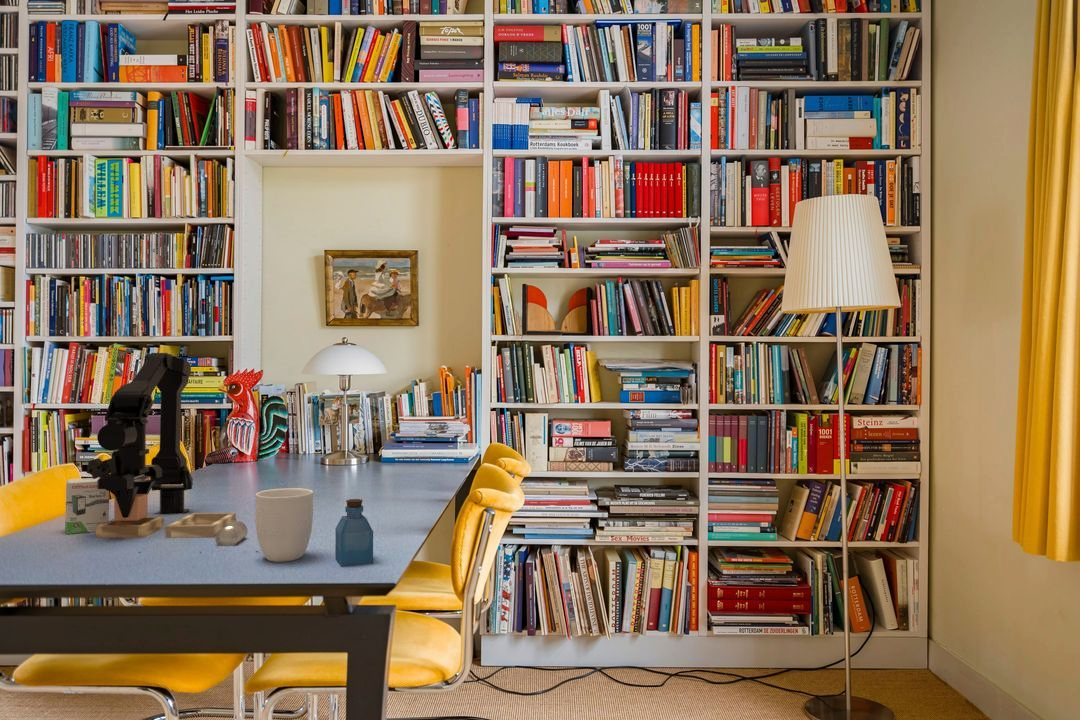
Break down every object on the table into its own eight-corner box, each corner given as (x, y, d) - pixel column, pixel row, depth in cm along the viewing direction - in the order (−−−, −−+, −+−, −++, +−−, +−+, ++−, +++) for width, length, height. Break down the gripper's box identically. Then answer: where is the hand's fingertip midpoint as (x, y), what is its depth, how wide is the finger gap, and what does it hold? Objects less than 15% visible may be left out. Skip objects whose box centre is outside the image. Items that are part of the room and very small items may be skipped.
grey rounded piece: (223, 525, 171) (243, 518, 172) (231, 544, 171) (250, 536, 172) (212, 532, 164) (232, 524, 165) (220, 552, 164) (240, 544, 165)
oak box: (118, 530, 181) (118, 517, 181) (163, 529, 182) (163, 516, 182) (95, 540, 171) (95, 526, 171) (143, 539, 172) (143, 526, 172)
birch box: (192, 525, 187) (192, 513, 187) (236, 525, 187) (236, 512, 187) (165, 540, 171) (165, 526, 171) (213, 540, 172) (213, 526, 172)
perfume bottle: (340, 566, 150) (341, 504, 150) (335, 559, 156) (335, 498, 156) (373, 563, 153) (373, 502, 153) (366, 556, 159) (367, 496, 159)
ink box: (65, 534, 176) (66, 482, 176) (64, 530, 181) (65, 479, 181) (109, 530, 181) (109, 479, 181) (107, 526, 185) (108, 476, 185)
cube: (124, 516, 179) (125, 494, 179) (147, 516, 179) (147, 494, 179) (114, 520, 174) (114, 497, 174) (137, 520, 174) (137, 497, 174)
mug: (237, 553, 160) (238, 489, 160) (289, 545, 168) (289, 484, 168) (269, 568, 149) (270, 499, 149) (323, 558, 157) (323, 492, 157)
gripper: (114, 441, 185) (114, 507, 185) (72, 450, 167) (71, 524, 167) (163, 441, 186) (162, 507, 186) (126, 450, 167) (125, 523, 167)
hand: (131, 515), depth 177 cm, fingers closed on cube, 5 cm apart
